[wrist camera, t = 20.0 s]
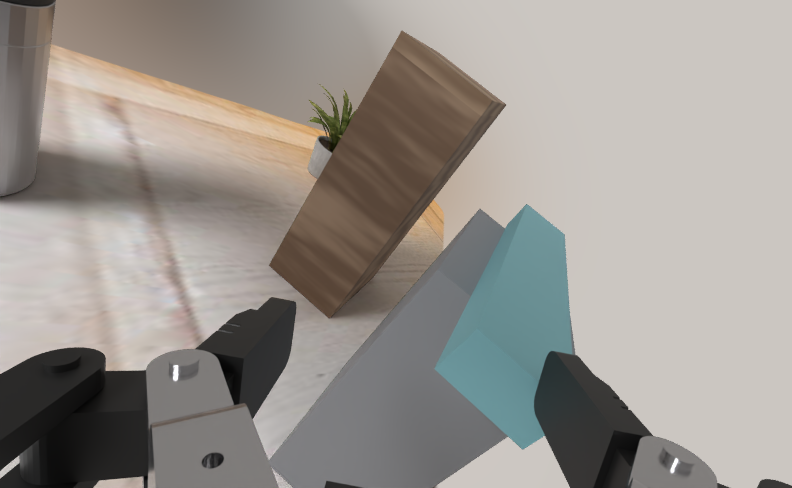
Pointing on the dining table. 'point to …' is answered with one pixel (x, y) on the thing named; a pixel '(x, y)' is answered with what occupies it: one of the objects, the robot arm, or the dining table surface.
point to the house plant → (325, 143)
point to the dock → (401, 390)
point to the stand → (384, 172)
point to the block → (512, 326)
